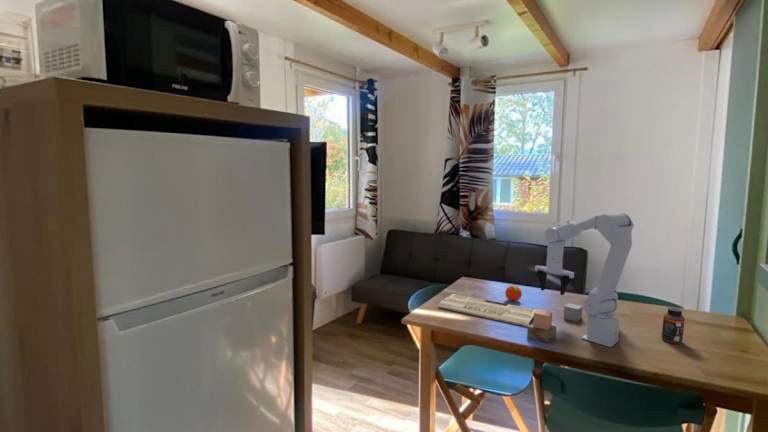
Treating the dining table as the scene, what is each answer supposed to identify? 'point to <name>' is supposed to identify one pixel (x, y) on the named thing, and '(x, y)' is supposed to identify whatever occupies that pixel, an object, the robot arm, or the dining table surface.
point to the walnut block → (541, 333)
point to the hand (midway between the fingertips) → (552, 292)
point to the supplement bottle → (673, 326)
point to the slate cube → (573, 312)
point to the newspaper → (488, 309)
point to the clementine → (513, 293)
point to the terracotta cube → (542, 319)
